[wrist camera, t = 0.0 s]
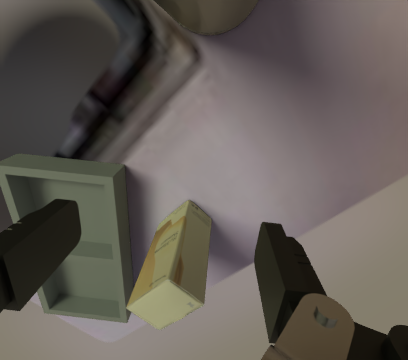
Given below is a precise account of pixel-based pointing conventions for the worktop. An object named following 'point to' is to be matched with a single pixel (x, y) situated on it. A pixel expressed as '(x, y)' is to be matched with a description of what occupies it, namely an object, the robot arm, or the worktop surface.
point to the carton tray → (90, 236)
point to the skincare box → (174, 268)
